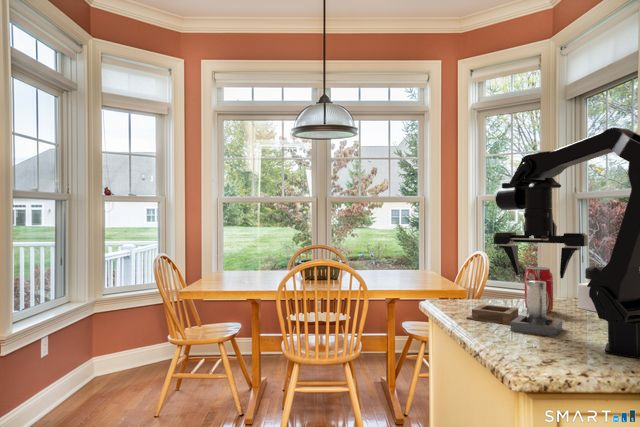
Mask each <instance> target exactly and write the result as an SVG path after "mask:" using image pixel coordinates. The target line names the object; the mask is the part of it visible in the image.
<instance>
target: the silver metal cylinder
mask: <svg viewBox="0 0 640 427" xmlns="http://www.w3.org/2000/svg"><path fill="white" fill-rule="evenodd" d="M526 283H527V308H526V316H527V323H535V324H542V325H547V320H546V318H547V313H546V282H544V281H534V280H530V281H526Z"/></svg>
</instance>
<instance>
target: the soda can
mask: <svg viewBox="0 0 640 427" xmlns="http://www.w3.org/2000/svg"><path fill="white" fill-rule="evenodd" d="M530 280H534V281H544V282H546V314H547V313H549V312H551V311H553V309H554V278H553V273H552V272H551V268H550V267H543V266H528V267H526V271H525V273H524V306H525V308H526V309H527V283H526V281H530Z"/></svg>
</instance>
